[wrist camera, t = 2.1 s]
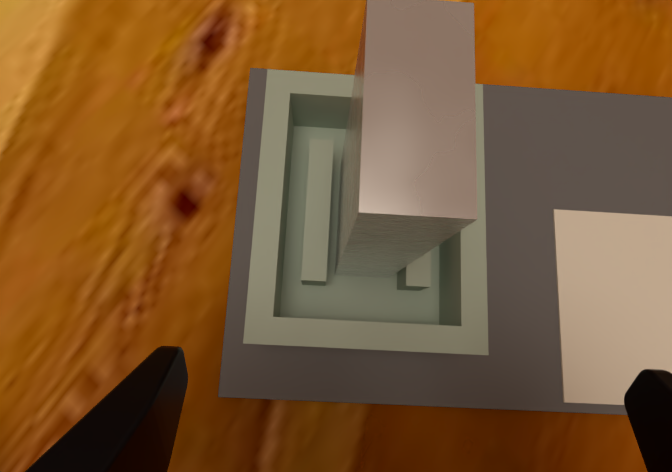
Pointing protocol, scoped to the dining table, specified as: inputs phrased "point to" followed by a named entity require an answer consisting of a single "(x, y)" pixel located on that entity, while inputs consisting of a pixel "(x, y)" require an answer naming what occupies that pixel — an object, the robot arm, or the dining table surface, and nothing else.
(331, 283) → the storage box
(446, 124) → the rectangular steel block
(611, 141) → the mat
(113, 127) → the dining table surface
